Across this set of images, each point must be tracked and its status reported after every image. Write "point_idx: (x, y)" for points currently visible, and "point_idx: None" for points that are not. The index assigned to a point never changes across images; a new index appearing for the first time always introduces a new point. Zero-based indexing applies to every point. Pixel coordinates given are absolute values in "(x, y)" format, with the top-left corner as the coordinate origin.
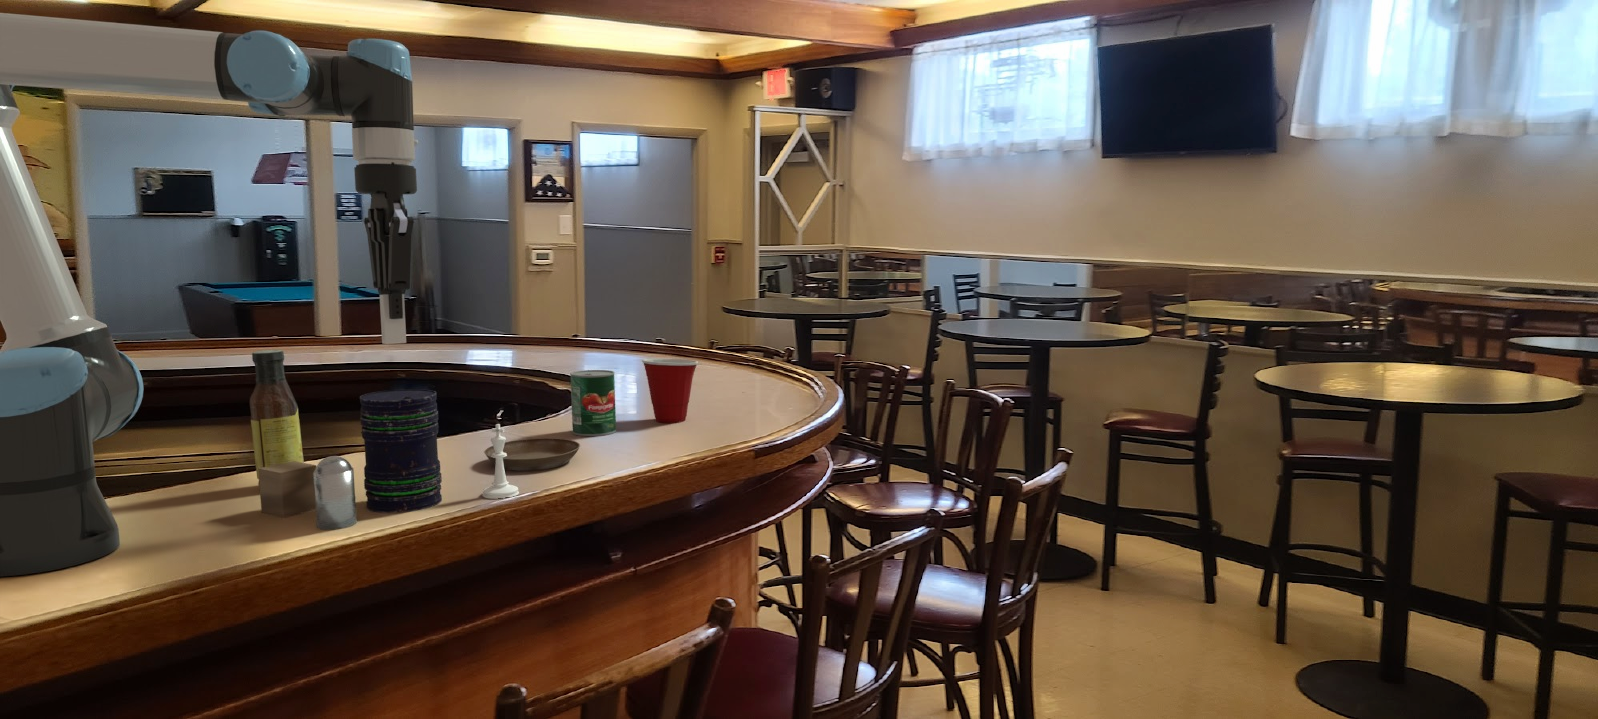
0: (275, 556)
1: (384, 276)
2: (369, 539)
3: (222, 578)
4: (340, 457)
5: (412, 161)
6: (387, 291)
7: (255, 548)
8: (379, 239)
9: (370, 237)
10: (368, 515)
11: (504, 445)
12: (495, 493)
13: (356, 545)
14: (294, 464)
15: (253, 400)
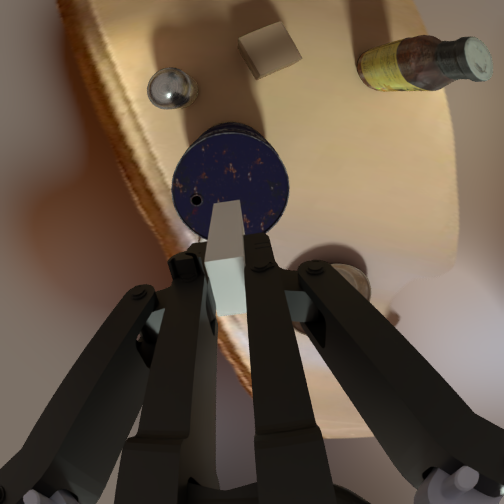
0: (105, 48)
1: (185, 309)
2: (114, 117)
3: (73, 24)
4: (162, 96)
5: None
6: (175, 279)
7: (137, 30)
8: (142, 445)
9: (420, 423)
10: (199, 120)
11: (367, 285)
12: (201, 240)
13: (102, 107)
14: (280, 55)
15: (422, 35)
